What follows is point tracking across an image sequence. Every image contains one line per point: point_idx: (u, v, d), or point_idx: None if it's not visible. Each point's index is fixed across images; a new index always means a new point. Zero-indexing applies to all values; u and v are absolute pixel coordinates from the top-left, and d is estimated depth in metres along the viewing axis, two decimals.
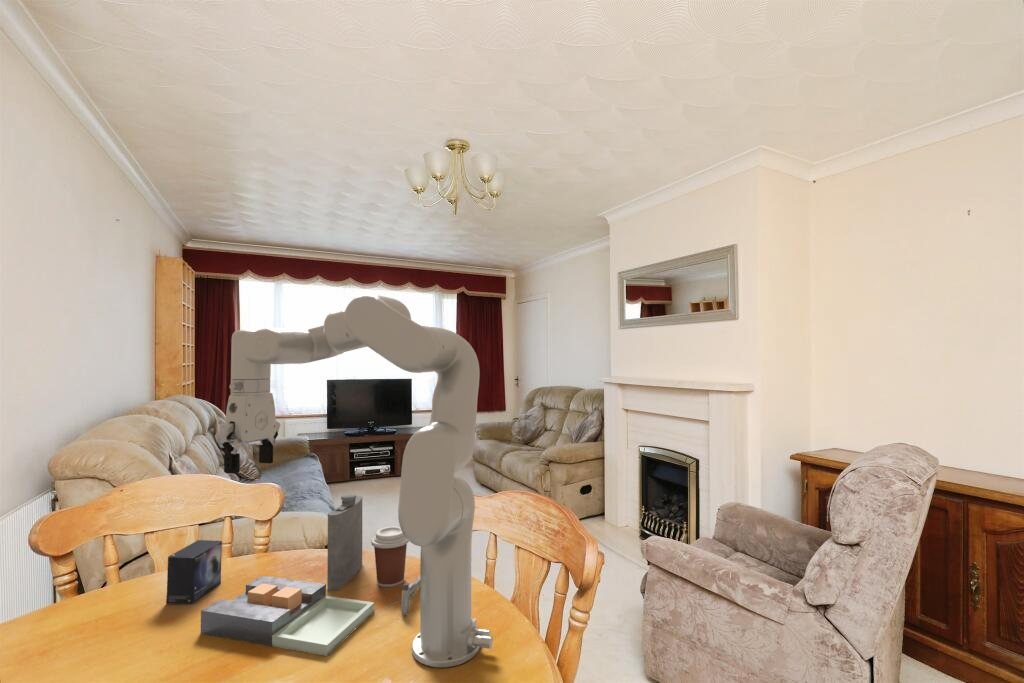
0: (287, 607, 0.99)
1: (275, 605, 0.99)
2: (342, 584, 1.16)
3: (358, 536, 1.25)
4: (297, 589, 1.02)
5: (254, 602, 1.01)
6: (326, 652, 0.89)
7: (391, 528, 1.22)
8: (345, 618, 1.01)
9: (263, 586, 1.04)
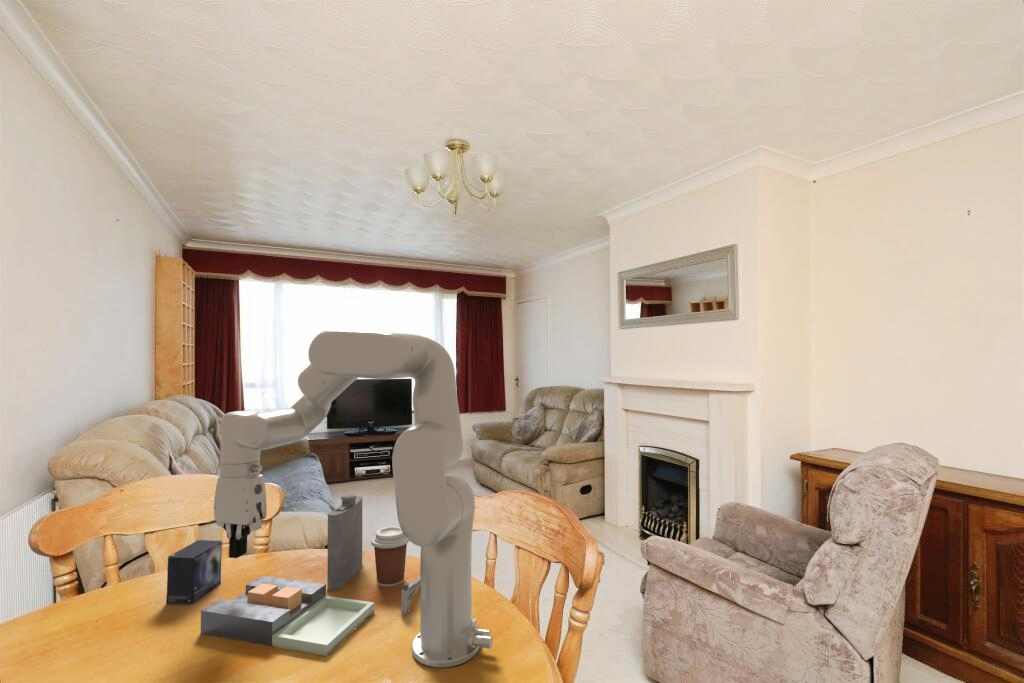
0: (287, 607, 0.99)
1: (275, 605, 0.99)
2: (342, 584, 1.16)
3: (358, 536, 1.25)
4: (297, 589, 1.02)
5: (254, 602, 1.01)
6: (326, 652, 0.89)
7: (391, 528, 1.22)
8: (345, 618, 1.01)
9: (263, 586, 1.04)
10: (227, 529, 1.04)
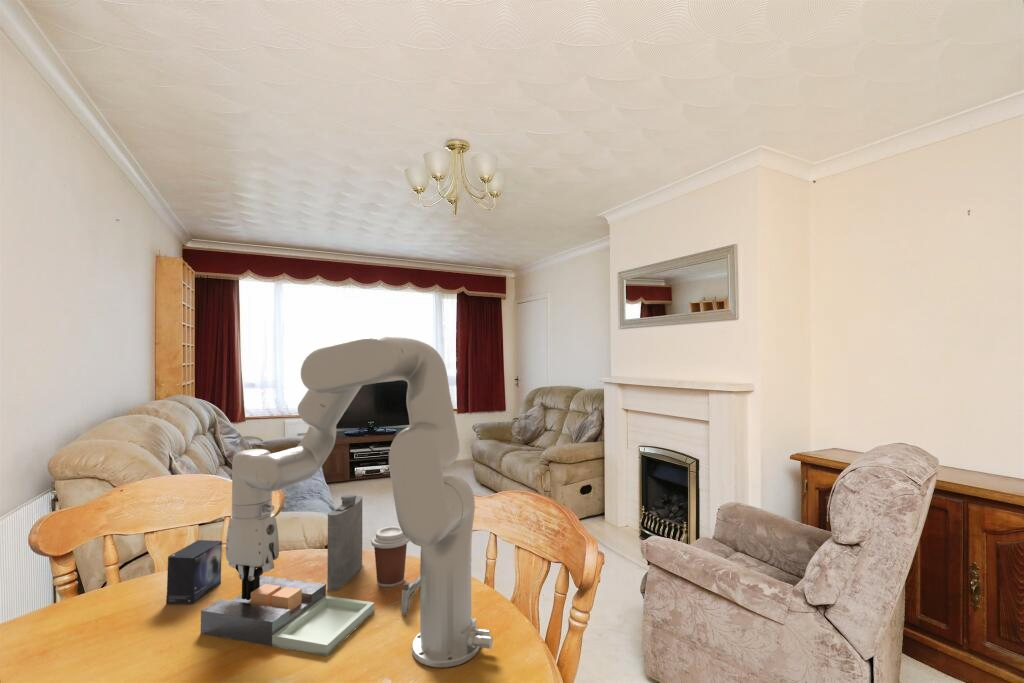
0: (287, 607, 0.99)
1: (275, 605, 0.99)
2: (342, 584, 1.16)
3: (358, 536, 1.25)
4: (297, 589, 1.02)
5: (257, 602, 1.00)
6: (326, 652, 0.89)
7: (391, 528, 1.22)
8: (345, 618, 1.01)
9: (267, 587, 1.03)
10: (239, 570, 1.03)
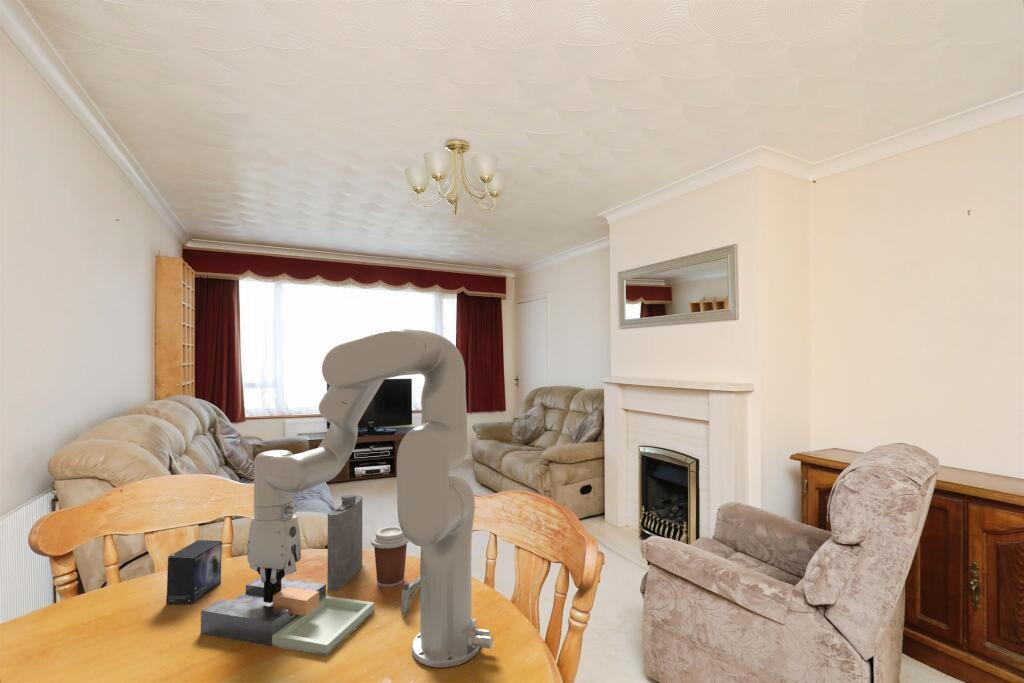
0: (305, 610, 0.97)
1: (293, 608, 0.98)
2: (342, 584, 1.16)
3: (358, 536, 1.25)
4: (315, 592, 1.01)
5: (280, 606, 0.99)
6: (326, 652, 0.89)
7: (391, 528, 1.22)
8: (345, 618, 1.01)
9: (288, 590, 1.02)
10: (261, 573, 1.01)
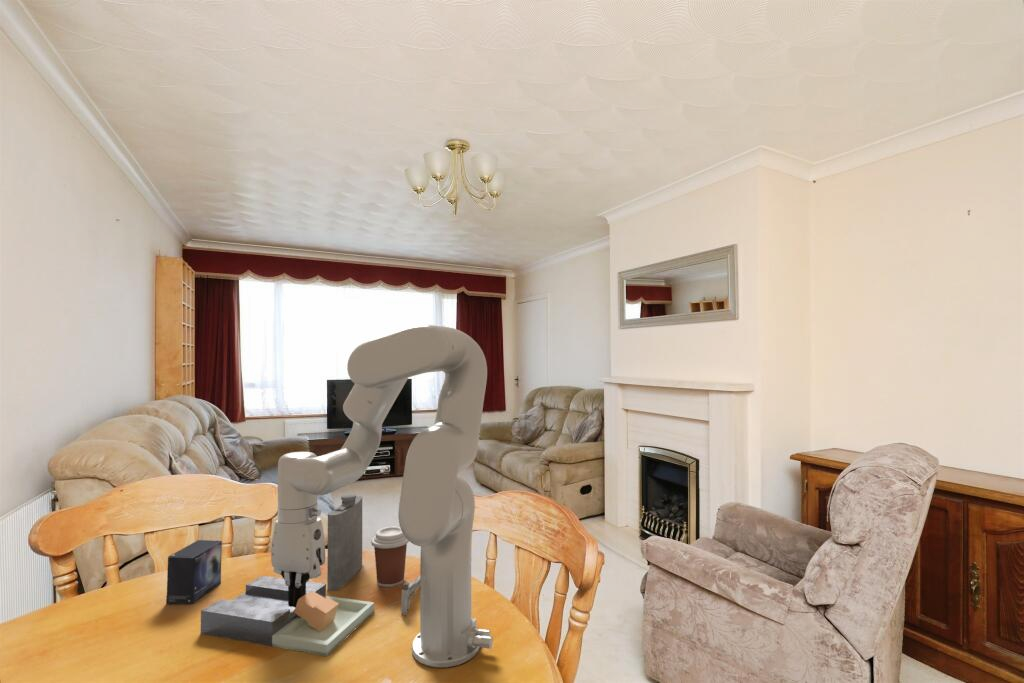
0: (313, 626, 0.97)
1: (317, 613, 0.96)
2: (342, 584, 1.16)
3: (358, 536, 1.25)
4: (333, 619, 0.99)
5: (302, 612, 0.98)
6: (326, 652, 0.89)
7: (391, 528, 1.22)
8: (345, 618, 1.01)
9: (313, 596, 1.00)
10: (286, 577, 1.00)
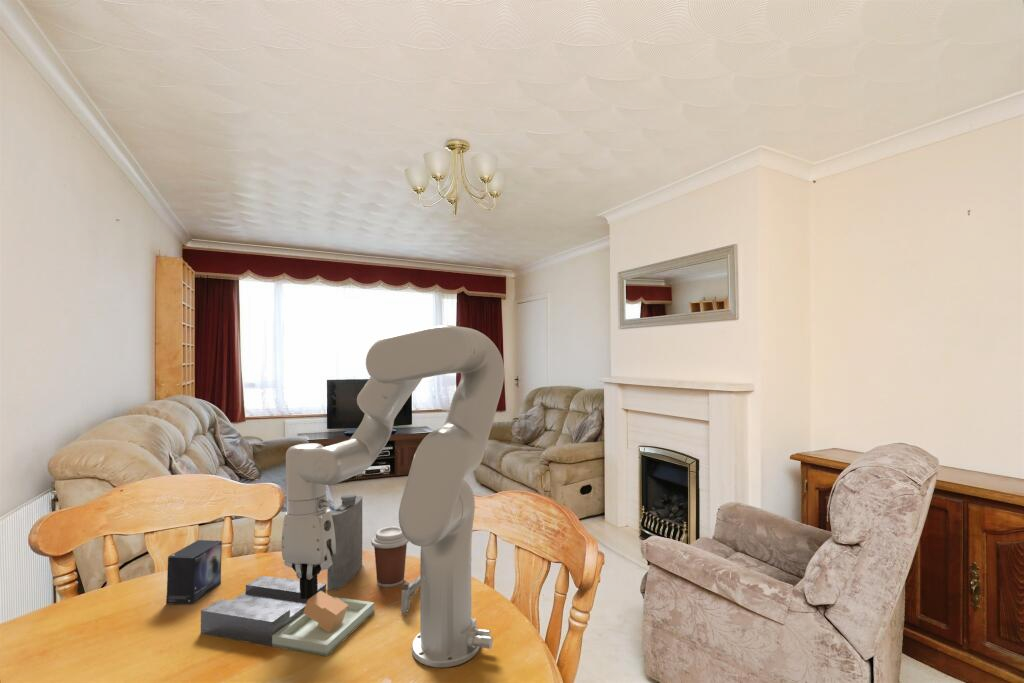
0: (322, 627, 0.96)
1: (326, 614, 0.96)
2: (342, 584, 1.16)
3: (358, 536, 1.25)
4: (341, 620, 0.99)
5: (311, 612, 0.97)
6: (326, 652, 0.89)
7: (391, 528, 1.22)
8: (345, 618, 1.01)
9: (323, 596, 1.00)
10: (297, 569, 0.99)
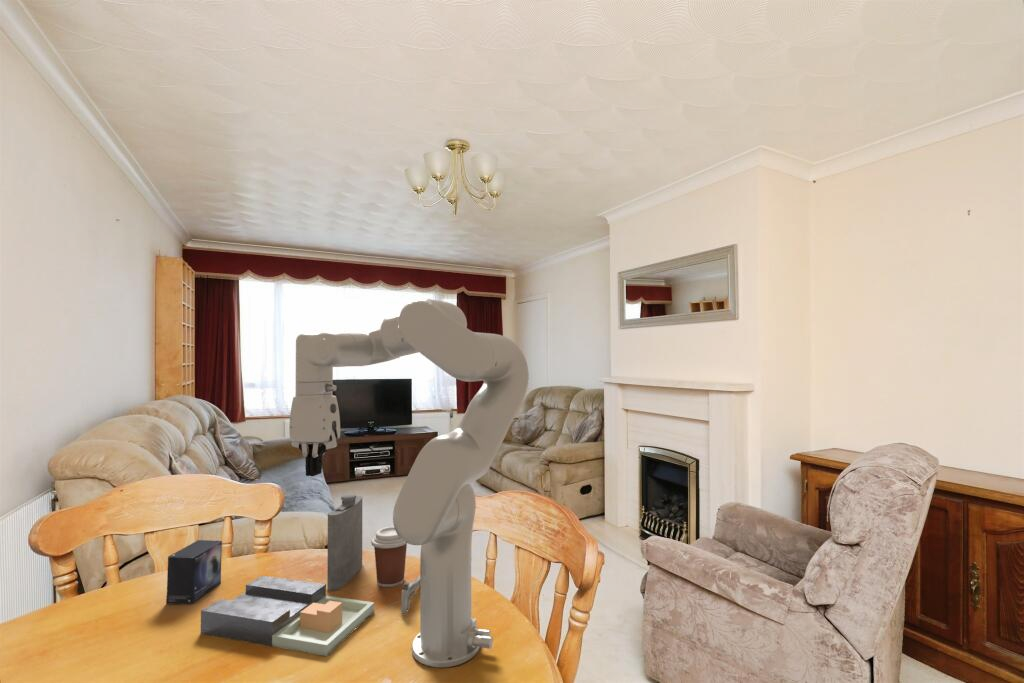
0: (321, 630, 0.96)
1: (321, 616, 0.96)
2: (342, 584, 1.16)
3: (358, 536, 1.25)
4: (340, 620, 0.99)
5: (307, 623, 0.97)
6: (326, 652, 0.89)
7: (391, 528, 1.22)
8: (345, 618, 1.01)
9: (315, 606, 1.00)
10: (303, 448, 1.05)
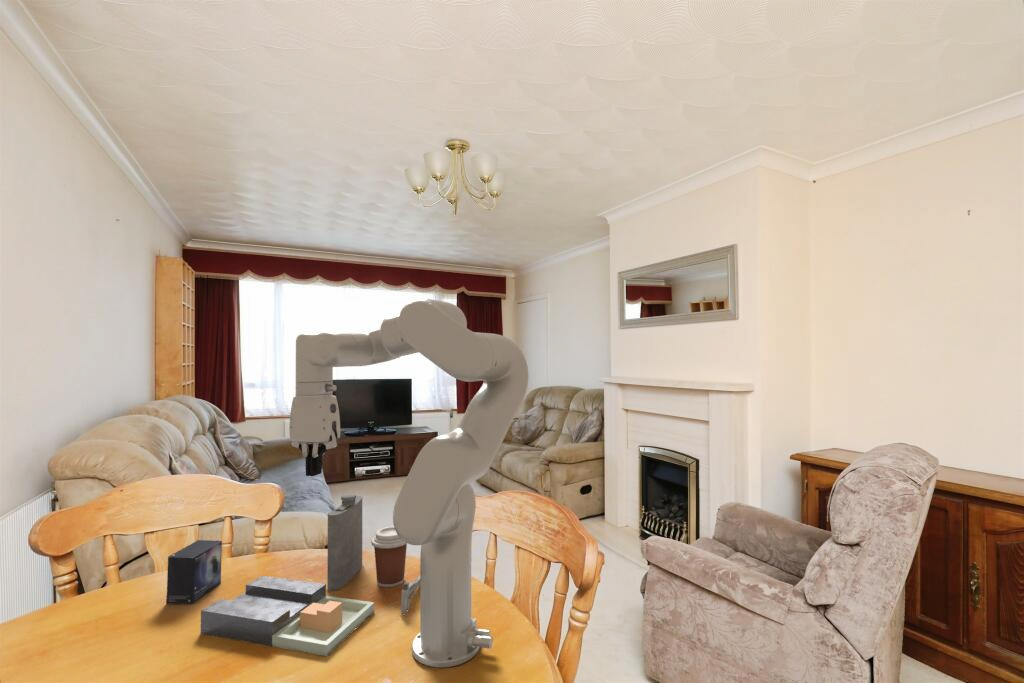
0: (321, 630, 0.96)
1: (321, 616, 0.96)
2: (342, 584, 1.16)
3: (358, 536, 1.25)
4: (340, 620, 0.99)
5: (307, 623, 0.97)
6: (326, 652, 0.89)
7: (391, 528, 1.22)
8: (345, 618, 1.01)
9: (315, 606, 1.00)
10: (303, 448, 1.05)
